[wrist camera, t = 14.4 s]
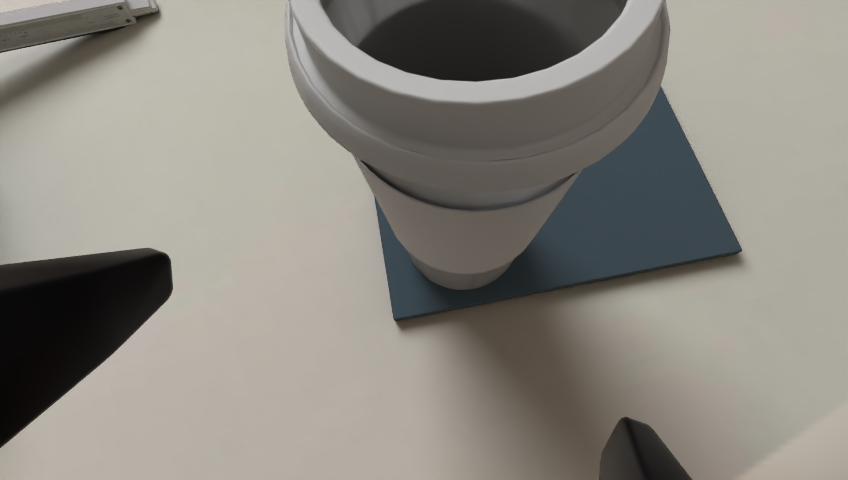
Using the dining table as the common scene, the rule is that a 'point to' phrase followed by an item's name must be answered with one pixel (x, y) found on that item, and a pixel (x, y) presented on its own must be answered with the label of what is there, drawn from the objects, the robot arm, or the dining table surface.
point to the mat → (595, 226)
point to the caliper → (67, 20)
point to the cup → (475, 110)
